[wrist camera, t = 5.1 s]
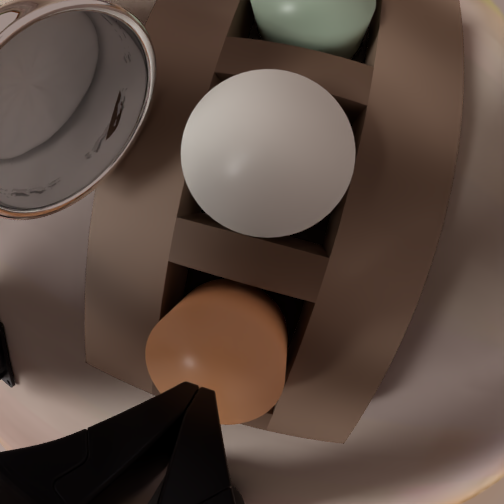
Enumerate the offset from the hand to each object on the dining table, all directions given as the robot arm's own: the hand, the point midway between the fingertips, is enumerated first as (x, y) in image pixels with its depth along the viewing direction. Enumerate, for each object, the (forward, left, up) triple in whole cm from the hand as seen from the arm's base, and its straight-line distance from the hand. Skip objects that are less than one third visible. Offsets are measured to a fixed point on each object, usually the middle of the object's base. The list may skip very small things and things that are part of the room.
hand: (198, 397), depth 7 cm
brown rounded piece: (0, 0, -4) cm, 4 cm away
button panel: (+7, 0, -5) cm, 8 cm away
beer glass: (+12, +19, -3) cm, 23 cm away
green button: (+13, 0, -5) cm, 14 cm away
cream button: (+7, 0, -4) cm, 8 cm away
